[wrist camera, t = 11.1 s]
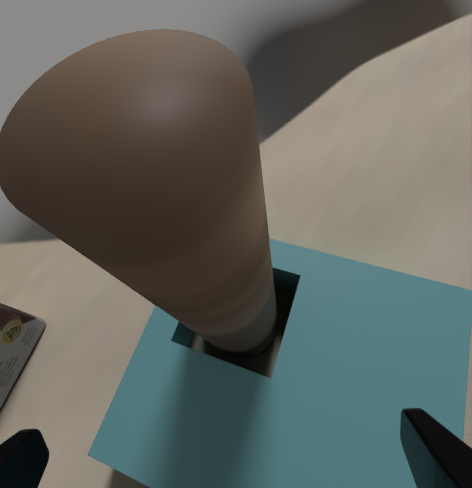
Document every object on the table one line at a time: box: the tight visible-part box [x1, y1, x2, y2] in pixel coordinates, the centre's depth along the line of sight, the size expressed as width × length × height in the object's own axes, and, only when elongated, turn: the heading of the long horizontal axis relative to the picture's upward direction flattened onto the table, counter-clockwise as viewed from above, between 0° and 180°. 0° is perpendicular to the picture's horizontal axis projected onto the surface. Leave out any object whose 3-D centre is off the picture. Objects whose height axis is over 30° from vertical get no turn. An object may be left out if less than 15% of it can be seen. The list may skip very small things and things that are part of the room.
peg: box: [0, 29, 278, 358], centre depth 12 cm, size 4×4×15 cm
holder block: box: [88, 239, 472, 488], centre depth 15 cm, size 12×14×3 cm
